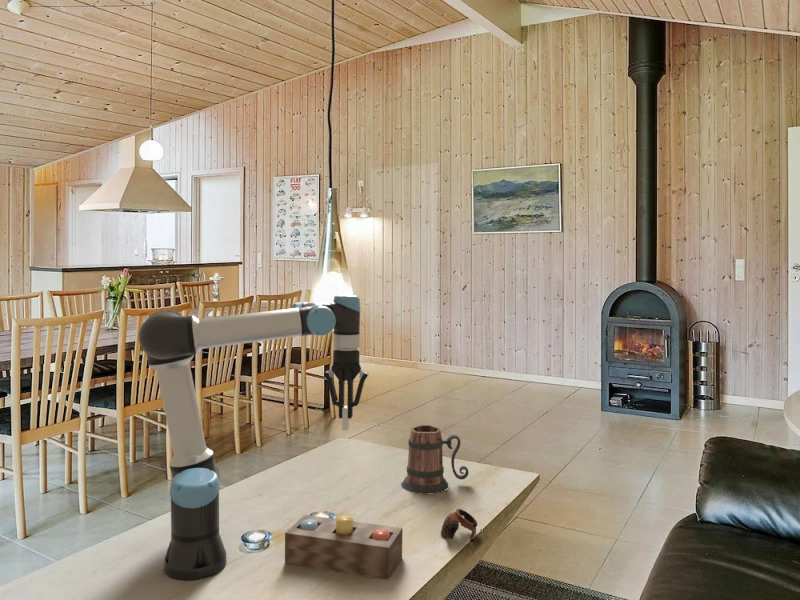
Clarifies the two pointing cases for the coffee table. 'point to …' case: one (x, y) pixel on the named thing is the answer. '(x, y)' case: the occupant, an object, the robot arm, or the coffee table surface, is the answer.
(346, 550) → the console
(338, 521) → the mustard button
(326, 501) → the coffee table surface
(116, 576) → the coffee table surface
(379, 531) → the red button
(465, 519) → the pottery mug
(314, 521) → the slate button
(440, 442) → the tankard
